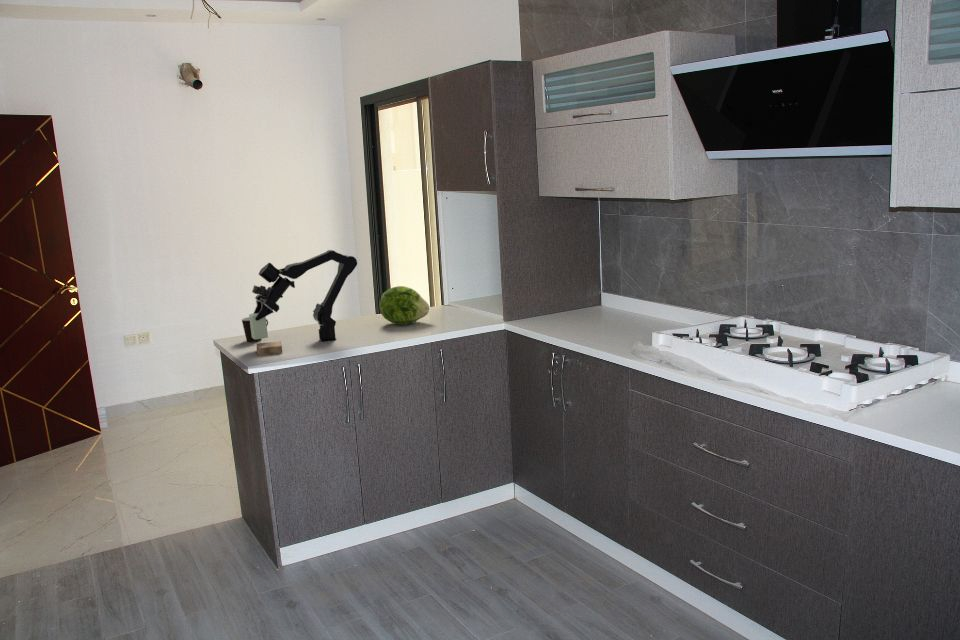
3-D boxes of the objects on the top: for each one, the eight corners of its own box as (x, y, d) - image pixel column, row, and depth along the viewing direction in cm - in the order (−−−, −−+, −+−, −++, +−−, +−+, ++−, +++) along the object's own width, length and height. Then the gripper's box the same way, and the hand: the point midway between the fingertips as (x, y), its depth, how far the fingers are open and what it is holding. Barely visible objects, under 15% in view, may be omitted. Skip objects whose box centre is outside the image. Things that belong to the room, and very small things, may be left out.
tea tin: (264, 335, 338) (262, 312, 336) (268, 337, 333) (265, 314, 331) (251, 337, 336) (249, 314, 334) (254, 339, 331) (252, 316, 329)
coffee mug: (245, 343, 349) (243, 321, 347) (242, 340, 356) (240, 318, 354) (272, 340, 353) (270, 318, 351) (269, 336, 361) (267, 315, 359)
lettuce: (424, 329, 364) (428, 289, 363) (374, 323, 366) (378, 284, 365) (431, 326, 383) (435, 288, 382) (383, 321, 385) (387, 283, 384)
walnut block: (281, 349, 336) (281, 341, 336) (282, 354, 327) (281, 345, 326) (257, 351, 334) (256, 343, 333) (257, 356, 324) (256, 348, 324)
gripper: (257, 275, 339) (234, 304, 336) (268, 280, 323) (243, 310, 320) (277, 291, 344) (255, 320, 342) (289, 296, 328) (265, 326, 325)
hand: (254, 319), depth 332 cm, fingers closed on tea tin, 5 cm apart
